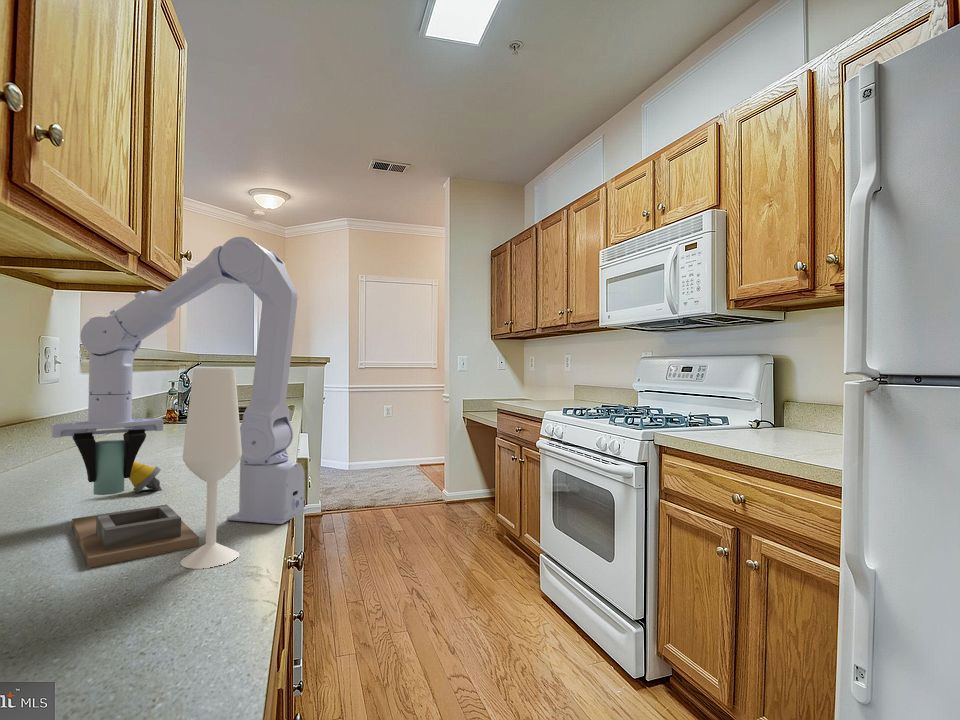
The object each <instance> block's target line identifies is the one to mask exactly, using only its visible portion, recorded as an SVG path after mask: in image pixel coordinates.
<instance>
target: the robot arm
mask: <svg viewBox="0 0 960 720" xmlns="http://www.w3.org/2000/svg"><path fill="white" fill-rule="evenodd" d="M286 267H287V266H286V263H285V262H284V261H283V260H282V259H281V258H280V257H279V256H277V254H276V253H274V252H273V251H271V250H270V249H267V248H265V247H263V246H261V245H259V244H258V243H256V242H255V241H254V240H252V239H251V238H249V237H245V236H236V237H232V238H230V239H228V240H227V241H226V242H225V243H224V244H223V245H219V246H216V247H215V248H213V249H212V251H210V253H209V254H208V255H207V257H206V258H204V259H203V260H202V261H200V262H199V263H197V264H196V265H195V266H194V267H192V268H191V269H189V270H188V271H186V273H184V274H182V275H181V276H179V277H178V278H177V279H176V280H175V281H173V282H171V283H170V284H169V285H167V286H166V287H165V288H164V289H162V290H161V291H159V290H158V291H157V290H151V289H148V290H146V291H142V290H140V291H138V292H136V293H135V294H134V297H135V298H134V299H132V300H131V301H129V302H127V303H126V304H125V305H123V306H121V307H120V308H118V309H113V310H111V311H109V315H108V316H94V317H91V318H90V319H89V320H88V321H87V322H86V323H85V324H84V325H83V326H82V328H81V330H80V337H79V338H80V341H81V344H82V346H83V347H84V349H85V350H86V351H88V354H89V356H88V359H89V360H88V411H87V412H88V413H87V414H88V417H87V421H85V420H84V421H73V422H64V423H63V422H62V423H52V424H51V438H52V439H55V438H56V439H57V438H63V437H72V440H73V442H74V443H75V445H76V447H77V448H78V451H79V453H80V455H81V457H82V460H83V463H84V465H85V466H84V467H85V469H86V474H87V481H88V482H89V483H94V482H95V465H94V456H95V442H97V441H96V440H95V435H104V434H105V435H106V434H107V435H109V434H122V433H123V440H124V441H125V471H124V479H129V478H130V475H131V470H132V466H133V463H134V462H135V460H136V457H137V455H138V453H139V451H140V449H141V448H142V445H143V444H144V442H145V440H146V437H147V433H146V432H151V431H155V432H160V431H164V419H163V418H161V417H158V418H155V417H154V418H132V416H133V414H132V413H133V371H134V370H133V369H134V368H133V365H134V363H133V362H135V354H136V352H137V351H138V350H139V349H140V346H141V344H142V341H143V340H144V339H146V338H148V337H149V336H151V335H152V334H154V333H156V332H157V331H158V330H160V329H162V328H163V327H164V326H166V325H167V324H169V323H170V322H173V321H174V320H175V318H176V314H177V310H178V308H180V307H181V306H184V305H185V304H186V303H188V302H190V301H193V300H194V299H195V298H197V297H198V296H200V295H202V294H204V293H205V292H207V291H209V290H211V289H212V288H214V287H215V286H218V285H219V284H220V285H221V284H225V285H226V284H227V285H228V284H231V285H234V284H235V285H236V284H238V285H239V284H240V285H243V284H245V285H246V286H247V287H248V288H249V289H250V290H251V291H252V292H253V293H254V294H255V296H256V297H257V298H258V299H259V300H260V301H261V311H260V320H259V329H258V338H257V345H256V346H257V348H256V353H255V354H256V356H255V363H254V372H253V382H252V391H251V396H250V397H251V398H250V402H249V404H248V405H247V407H246V409H245V410H244V413H243V415H242V421H241V424H240V435H241V448H242V456H241V458H240V460H239V497H238V498H239V501H238V505H239V506H238V507H239V508H238V511H237V512H234V513H232V514H230V515H228V516H226V521H235V522H247V523H248V522H249V523H259V524H260V523H261V524H262V523H263V524H273V525H283V524H284V523H287V522H288V521H290V520H292V519H294V518H296V517H297V516H298V515H301V514H302V513H304V512H306V511H307V507H305V483H306V482H305V480H306V477H305V474H306V473H305V469H304V466H303V465H302V464H301V463H299V462H295V461H292V460H290V459H289V453H288V451H287V449H288V448H289V447H290V445H291V444H292V442H293V439H294V431H293V427H292V425H291V421H290V420H291V418H290V417H291V416H290V415H291V410H290V408H289V406H288V403H287V393H288V385H289V376H290V368H291V361H292V359H291V358H292V350H293V341H294V334H295V326H296V325H295V324H296V317H297V307H298V299H299V297H298V292H297V289H296V287H295V285H294V283H293V282H292V280H291V278H290V277H291V276H290V275H289V272H288V271H287V269H286ZM121 428H122V429H121Z"/></svg>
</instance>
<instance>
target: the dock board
mask: <svg viewBox="0 0 960 720" xmlns="http://www.w3.org/2000/svg"><path fill="white" fill-rule="evenodd" d="M71 528H72V531H73V533H74V536H75V538H76V540H77V543H78V545H79V548H80V550H81V553H82V555H83V558H84V560H85V562H86V566H87V568H88V569H90V568H98V567H100V566H106V565H110V564H115V563H116V564H117V563H120V562H121V563H122V562H125V561H130V560H131V561H132V560H137V559H141V558H145V557H146V558H147V557H151V556H156V555H161V554H166V553H171V552H176V551H181V550H185V549H190V548H194V547H199V546H200V536H199V535H197V534H196V533H195V532H194V530H192V529H191V528H190V527H189V526H188V525H187V524H186V523H185V522H184V521H183V520H182V517H181V516H180V515H179V514H178V513H177V512H176V511H175V510H173V509H172V508H171V507H170V506H169V505H168V504H162V505H155V506H148V507H141V508H134V509H126V510H119V511H113V512H106V513H101V514H100V513H99V514H96V515H89V516H82V517H75V518H72V521H71Z"/></svg>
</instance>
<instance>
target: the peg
mask: <svg viewBox="0 0 960 720" xmlns="http://www.w3.org/2000/svg"><path fill="white" fill-rule="evenodd" d="M94 465H95V482H93V495H96V496H106V495H114V494H115V495H116V494H120V493H122V492H123V493H124V491H125V478H124V471H125V441H124V439H109V440H99V441H96V442H95V456H94Z"/></svg>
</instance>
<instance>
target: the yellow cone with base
mask: <svg viewBox="0 0 960 720" xmlns="http://www.w3.org/2000/svg"><path fill="white" fill-rule="evenodd" d="M161 470H162V468H160V467H158V466H155V467H153V466H149V465H147V464H143V463H140V462H137V461H134V463H133V466H132V470H131V475H130V478H128V479H129V480H130V482H131V484H132V486H133V491H135V492H136V494H138V493H140V492H141V491H142V490H143V489H144V488H147V489H149V490H156V491H157V490H158V491H163V490H162V488H161V485H160V484H161V483H160V480H159V479H158V478H157V475H158V474H159V473H161Z"/></svg>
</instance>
